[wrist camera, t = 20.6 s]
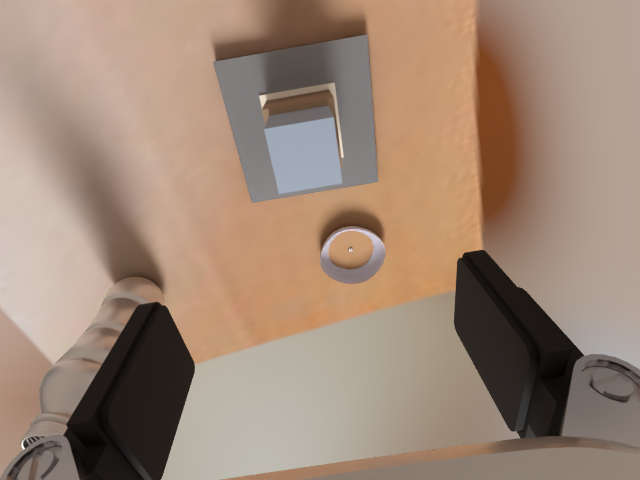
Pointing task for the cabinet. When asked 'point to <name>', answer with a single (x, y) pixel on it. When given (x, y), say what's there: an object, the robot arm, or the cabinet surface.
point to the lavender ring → (346, 274)
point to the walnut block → (302, 107)
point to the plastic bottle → (87, 357)
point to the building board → (294, 79)
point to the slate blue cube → (303, 149)
